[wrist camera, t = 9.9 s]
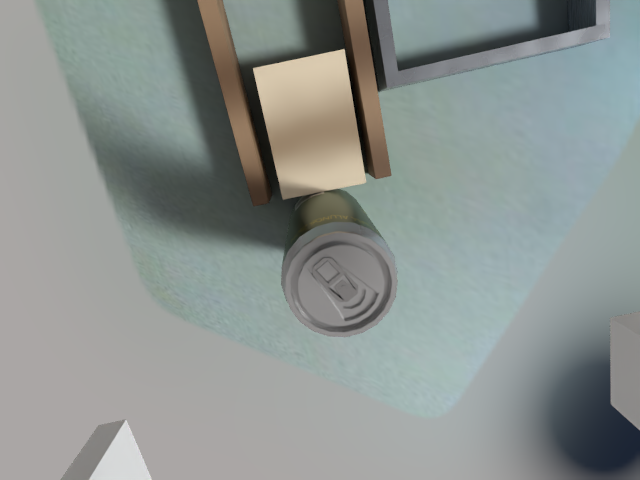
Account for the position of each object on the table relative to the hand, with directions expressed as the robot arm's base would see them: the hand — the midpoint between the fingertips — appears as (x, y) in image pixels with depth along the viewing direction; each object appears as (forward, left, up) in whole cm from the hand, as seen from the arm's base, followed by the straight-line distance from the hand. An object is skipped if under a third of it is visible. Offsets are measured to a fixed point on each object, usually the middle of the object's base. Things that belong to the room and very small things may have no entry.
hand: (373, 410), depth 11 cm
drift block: (-7, 0, -19) cm, 21 cm away
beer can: (-1, 0, -19) cm, 19 cm away
